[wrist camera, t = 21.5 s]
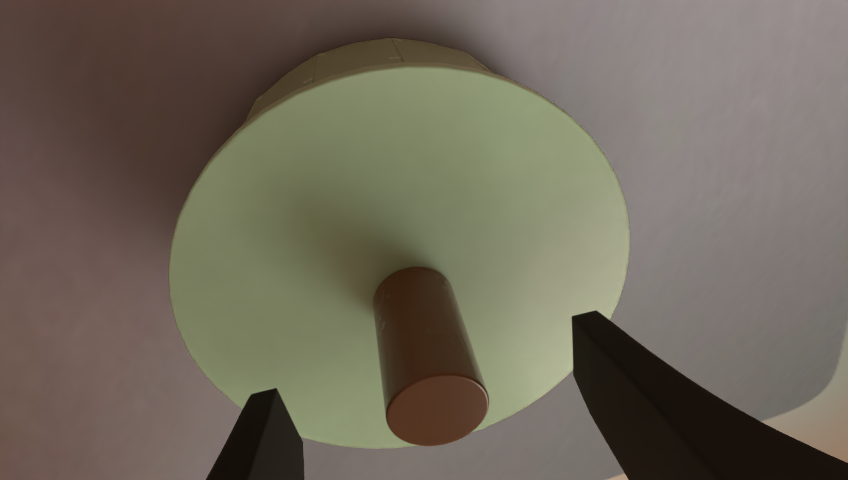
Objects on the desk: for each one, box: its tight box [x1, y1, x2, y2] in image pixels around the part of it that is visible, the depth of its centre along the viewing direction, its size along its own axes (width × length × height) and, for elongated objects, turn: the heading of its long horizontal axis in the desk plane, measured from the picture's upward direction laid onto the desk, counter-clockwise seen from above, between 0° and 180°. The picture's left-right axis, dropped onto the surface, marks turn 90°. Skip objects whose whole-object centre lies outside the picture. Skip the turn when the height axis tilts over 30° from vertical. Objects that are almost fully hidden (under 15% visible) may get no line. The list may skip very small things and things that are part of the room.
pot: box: [242, 38, 497, 125], centre depth 18 cm, size 12×12×5 cm
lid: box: [168, 62, 630, 448], centre depth 14 cm, size 13×13×5 cm
